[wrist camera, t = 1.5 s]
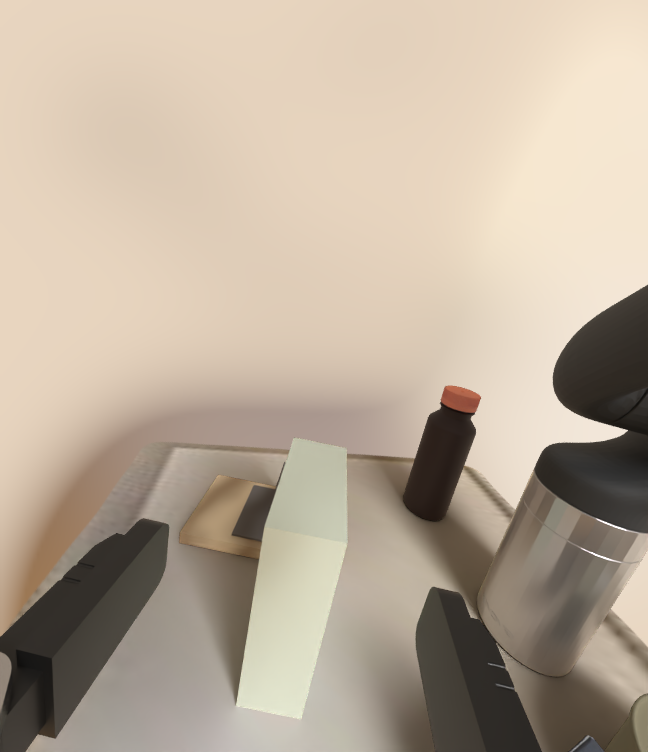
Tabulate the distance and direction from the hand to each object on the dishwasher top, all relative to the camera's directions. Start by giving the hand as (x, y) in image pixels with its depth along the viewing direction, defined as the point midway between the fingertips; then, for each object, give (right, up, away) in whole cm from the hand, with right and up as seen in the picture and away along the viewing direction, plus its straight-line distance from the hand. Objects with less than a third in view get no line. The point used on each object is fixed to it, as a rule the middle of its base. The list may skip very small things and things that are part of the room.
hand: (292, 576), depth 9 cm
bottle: (+17, -15, +40) cm, 46 cm away
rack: (-6, -13, +31) cm, 34 cm away
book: (-3, -18, +19) cm, 26 cm away
